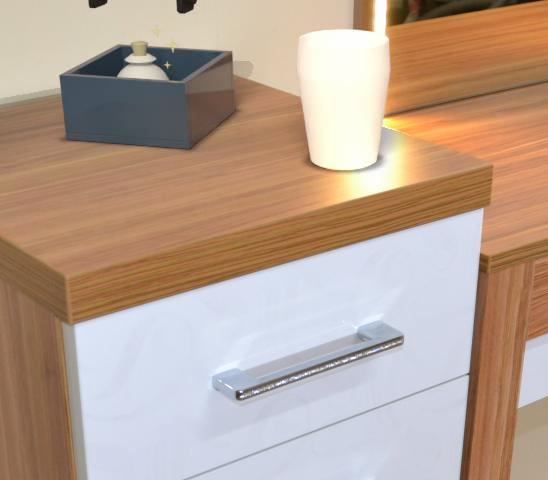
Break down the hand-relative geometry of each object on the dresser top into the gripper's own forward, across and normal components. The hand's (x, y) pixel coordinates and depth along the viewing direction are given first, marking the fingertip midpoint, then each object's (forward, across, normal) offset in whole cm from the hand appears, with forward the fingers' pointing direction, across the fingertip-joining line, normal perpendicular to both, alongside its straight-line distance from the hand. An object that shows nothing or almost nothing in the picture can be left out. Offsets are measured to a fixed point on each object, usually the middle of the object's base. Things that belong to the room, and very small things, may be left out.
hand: (141, 8), depth 119 cm
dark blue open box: (+12, 0, +1) cm, 13 cm away
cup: (+13, +23, -6) cm, 27 cm away
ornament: (+12, 0, +1) cm, 12 cm away
